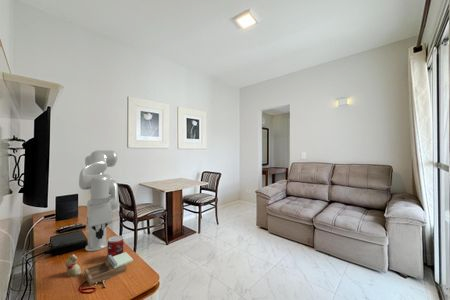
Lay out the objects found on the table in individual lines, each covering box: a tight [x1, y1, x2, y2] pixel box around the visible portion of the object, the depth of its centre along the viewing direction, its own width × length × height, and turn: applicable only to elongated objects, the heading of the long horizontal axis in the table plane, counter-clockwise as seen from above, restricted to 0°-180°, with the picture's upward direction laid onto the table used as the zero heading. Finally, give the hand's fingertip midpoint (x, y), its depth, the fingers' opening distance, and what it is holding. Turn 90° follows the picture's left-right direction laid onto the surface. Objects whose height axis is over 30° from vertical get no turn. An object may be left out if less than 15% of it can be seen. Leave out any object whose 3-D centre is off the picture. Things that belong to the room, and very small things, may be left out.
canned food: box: [107, 235, 124, 257], centre depth 108 cm, size 8×8×11 cm
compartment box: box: [84, 259, 127, 287], centre depth 93 cm, size 12×15×3 cm
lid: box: [107, 251, 134, 268], centre depth 98 cm, size 11×9×2 cm
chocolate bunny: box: [65, 254, 83, 278], centre depth 93 cm, size 6×8×10 cm
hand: (99, 237), depth 92 cm, fingers closed
